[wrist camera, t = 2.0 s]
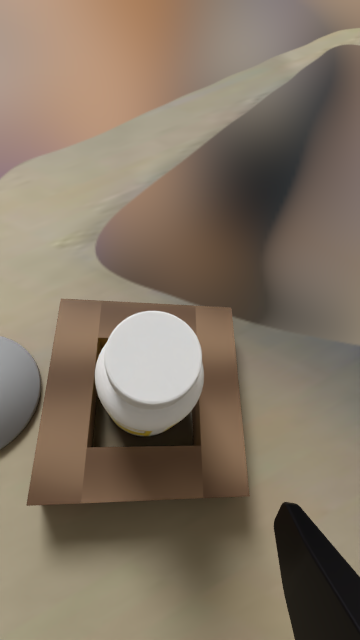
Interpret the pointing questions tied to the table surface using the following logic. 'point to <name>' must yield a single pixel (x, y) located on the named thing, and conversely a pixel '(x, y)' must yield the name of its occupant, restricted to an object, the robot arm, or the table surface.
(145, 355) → the supplement bottle
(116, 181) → the table surface
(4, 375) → the grey oval disc
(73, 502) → the holder block
